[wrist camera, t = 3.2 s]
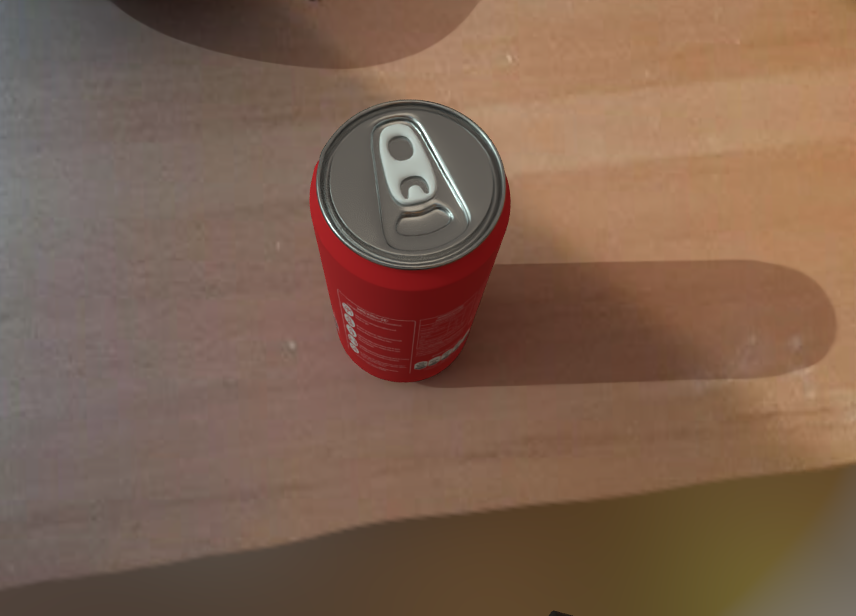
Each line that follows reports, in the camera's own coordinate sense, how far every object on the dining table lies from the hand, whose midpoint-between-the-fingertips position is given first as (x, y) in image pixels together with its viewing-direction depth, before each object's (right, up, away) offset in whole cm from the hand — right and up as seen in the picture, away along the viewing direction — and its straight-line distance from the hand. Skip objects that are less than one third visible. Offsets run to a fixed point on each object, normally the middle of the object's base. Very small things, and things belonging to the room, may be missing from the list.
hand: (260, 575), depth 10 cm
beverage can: (+1, +3, +19) cm, 20 cm away
